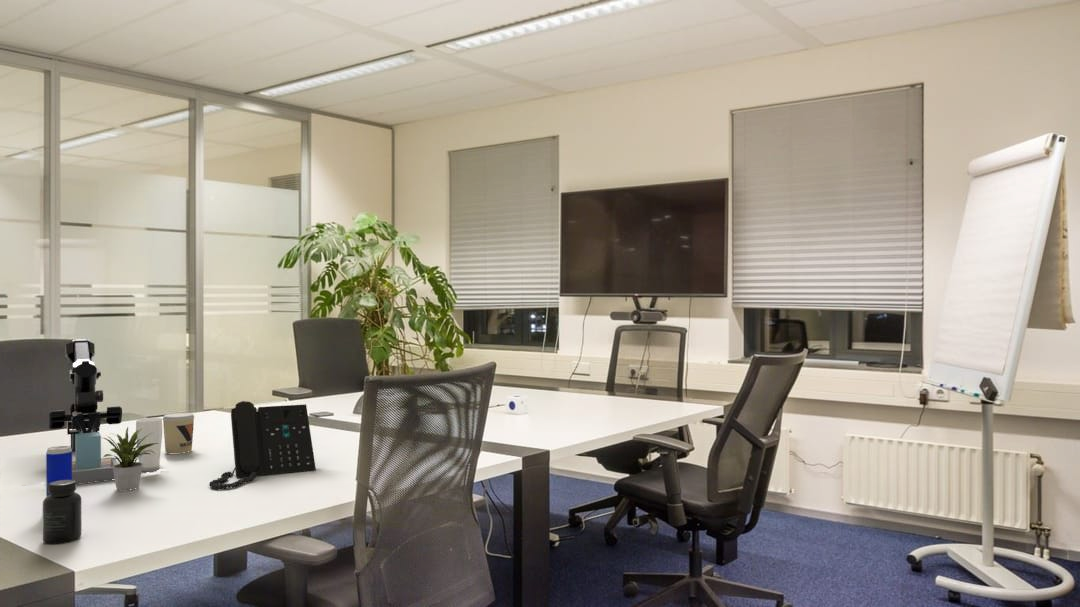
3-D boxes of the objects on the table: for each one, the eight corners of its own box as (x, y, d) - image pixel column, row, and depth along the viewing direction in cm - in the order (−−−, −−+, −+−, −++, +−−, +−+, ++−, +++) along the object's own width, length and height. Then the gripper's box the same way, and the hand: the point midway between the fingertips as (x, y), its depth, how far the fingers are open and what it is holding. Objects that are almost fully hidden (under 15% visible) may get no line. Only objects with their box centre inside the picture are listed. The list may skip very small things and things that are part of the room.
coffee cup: (181, 455, 240) (181, 417, 240) (156, 453, 242) (156, 416, 242) (200, 449, 249) (200, 413, 249) (175, 448, 251) (175, 412, 251)
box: (61, 475, 213) (61, 463, 213) (114, 469, 220) (114, 457, 220) (63, 486, 201) (62, 473, 201) (119, 479, 208) (119, 466, 208)
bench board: (60, 467, 222) (60, 462, 222) (111, 462, 230) (111, 457, 230) (62, 475, 213) (62, 469, 213) (114, 469, 220) (114, 464, 220)
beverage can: (54, 508, 180) (53, 445, 180) (76, 507, 181) (76, 445, 181) (41, 514, 175) (41, 450, 175) (64, 513, 176) (64, 449, 175)
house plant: (111, 499, 188) (110, 434, 187) (82, 492, 195) (81, 429, 195) (165, 487, 200) (165, 426, 200) (136, 480, 207) (136, 421, 207)
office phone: (210, 492, 196) (210, 415, 196) (202, 470, 221) (202, 401, 221) (324, 479, 210) (324, 407, 210) (304, 460, 235) (304, 395, 235)
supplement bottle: (59, 533, 161) (58, 478, 161) (89, 534, 160) (88, 478, 160) (34, 544, 154) (34, 486, 154) (65, 545, 154) (65, 486, 153)
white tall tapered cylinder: (167, 469, 220) (167, 418, 220) (148, 474, 214) (148, 422, 214) (149, 467, 223) (149, 417, 223) (130, 472, 216) (130, 420, 216)
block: (75, 464, 220) (75, 434, 219) (99, 462, 223) (99, 431, 223) (76, 469, 214) (76, 437, 214) (100, 466, 217) (100, 435, 217)
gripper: (49, 383, 221) (49, 426, 211) (121, 379, 231) (125, 420, 222) (48, 407, 227) (49, 449, 218) (119, 402, 238) (122, 442, 228)
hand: (87, 440), depth 221 cm, fingers closed
